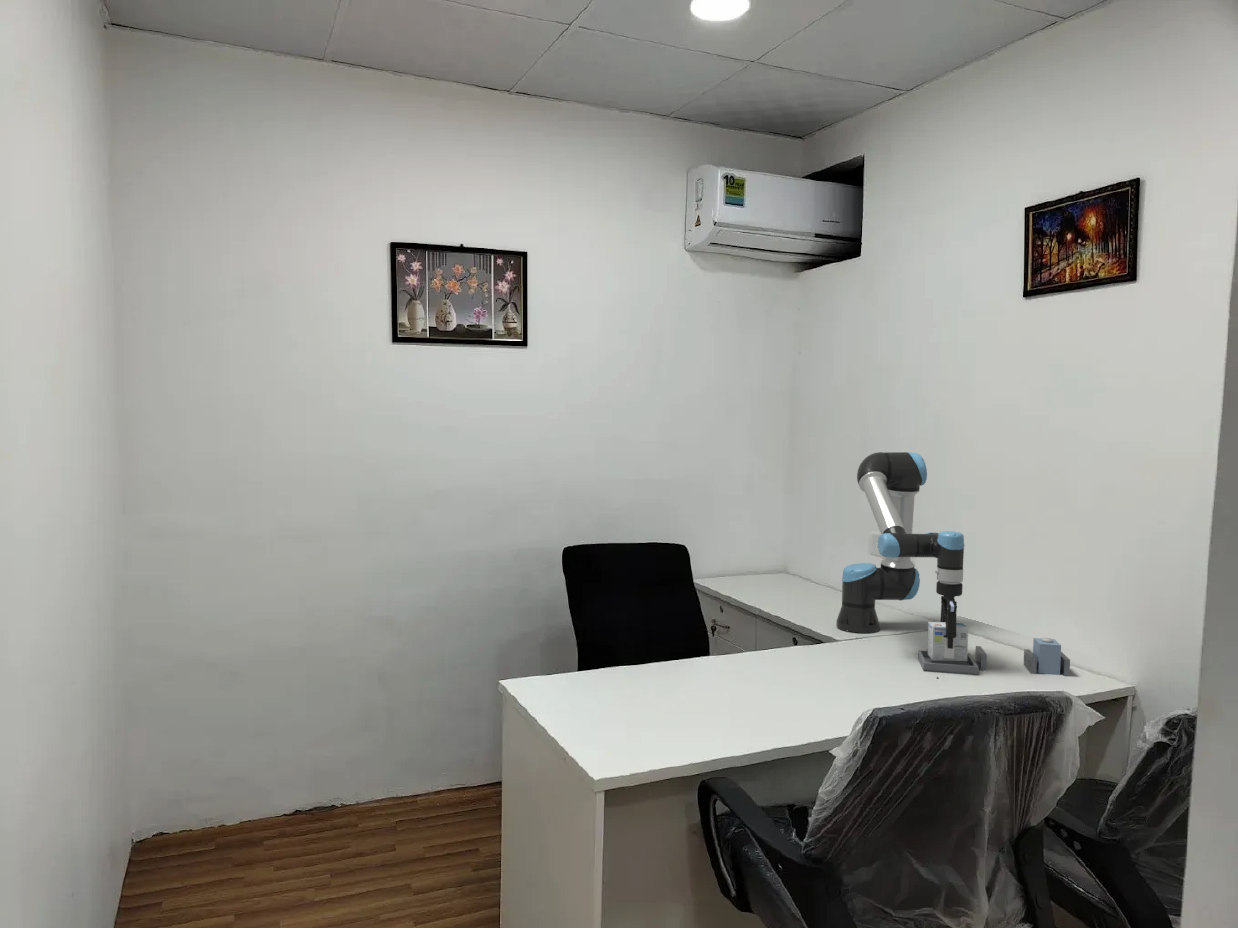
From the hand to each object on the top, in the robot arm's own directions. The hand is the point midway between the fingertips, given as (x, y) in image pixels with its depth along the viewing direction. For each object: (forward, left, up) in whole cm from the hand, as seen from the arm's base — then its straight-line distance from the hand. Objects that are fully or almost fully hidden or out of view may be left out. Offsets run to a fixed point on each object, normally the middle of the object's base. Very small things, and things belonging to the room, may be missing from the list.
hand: (947, 654), depth 261 cm
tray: (0, 0, -4) cm, 4 cm away
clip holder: (-3, +22, -4) cm, 23 cm away
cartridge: (-3, +29, -4) cm, 30 cm away
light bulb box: (0, 0, -1) cm, 1 cm away
